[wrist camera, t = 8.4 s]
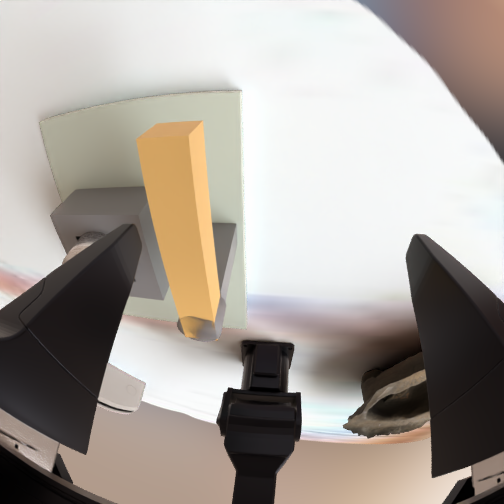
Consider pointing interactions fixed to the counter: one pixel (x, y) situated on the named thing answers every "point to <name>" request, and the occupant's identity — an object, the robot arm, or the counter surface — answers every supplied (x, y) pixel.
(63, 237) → the block
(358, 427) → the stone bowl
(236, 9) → the counter surface
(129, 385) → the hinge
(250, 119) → the counter surface
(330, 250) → the counter surface
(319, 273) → the counter surface
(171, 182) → the bar
